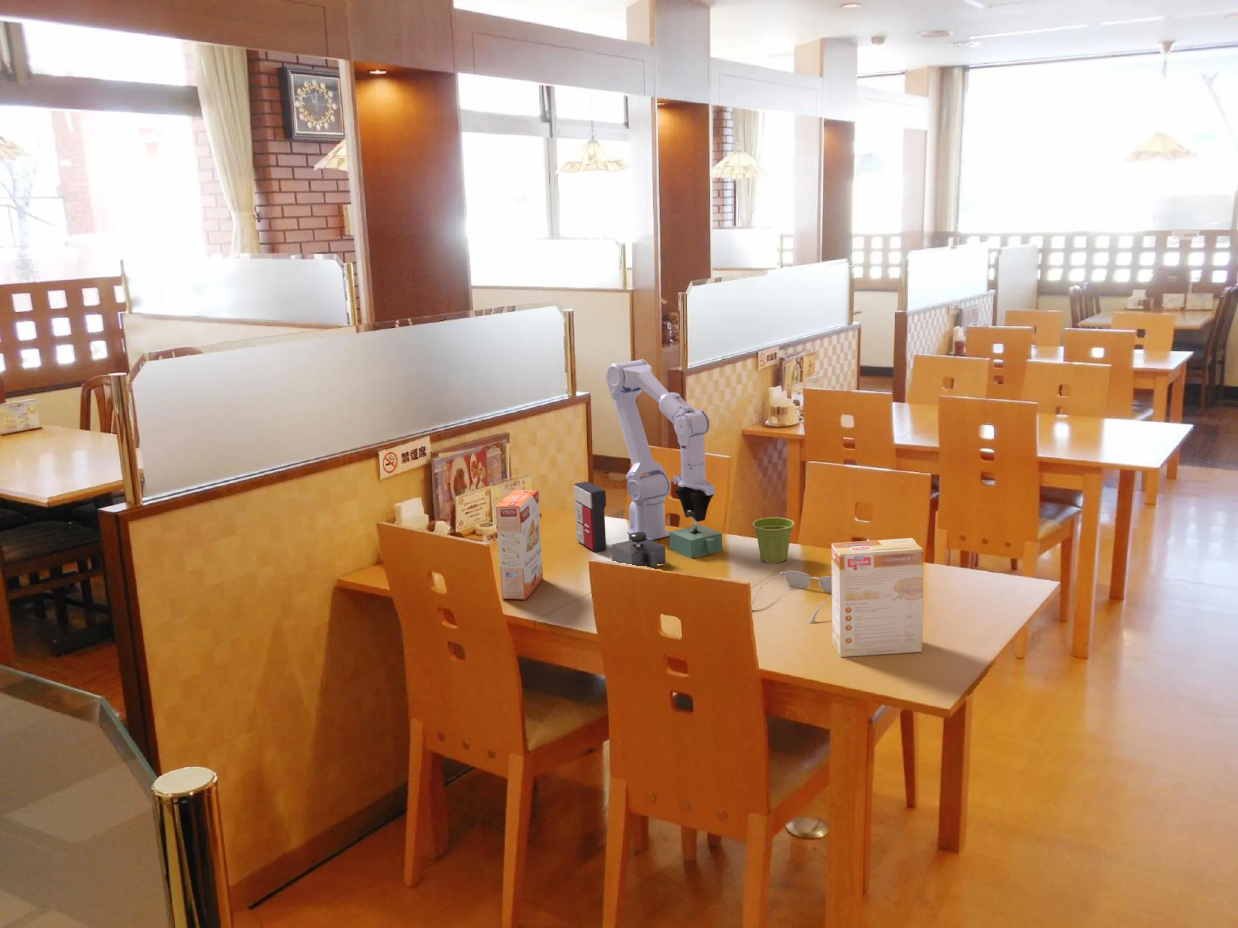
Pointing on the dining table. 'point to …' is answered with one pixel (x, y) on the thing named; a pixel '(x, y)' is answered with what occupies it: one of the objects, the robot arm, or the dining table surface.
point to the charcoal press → (639, 553)
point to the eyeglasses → (805, 584)
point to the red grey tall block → (590, 515)
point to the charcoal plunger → (637, 537)
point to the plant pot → (773, 538)
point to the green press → (696, 541)
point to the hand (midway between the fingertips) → (695, 518)
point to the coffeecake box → (877, 597)
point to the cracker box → (519, 544)
